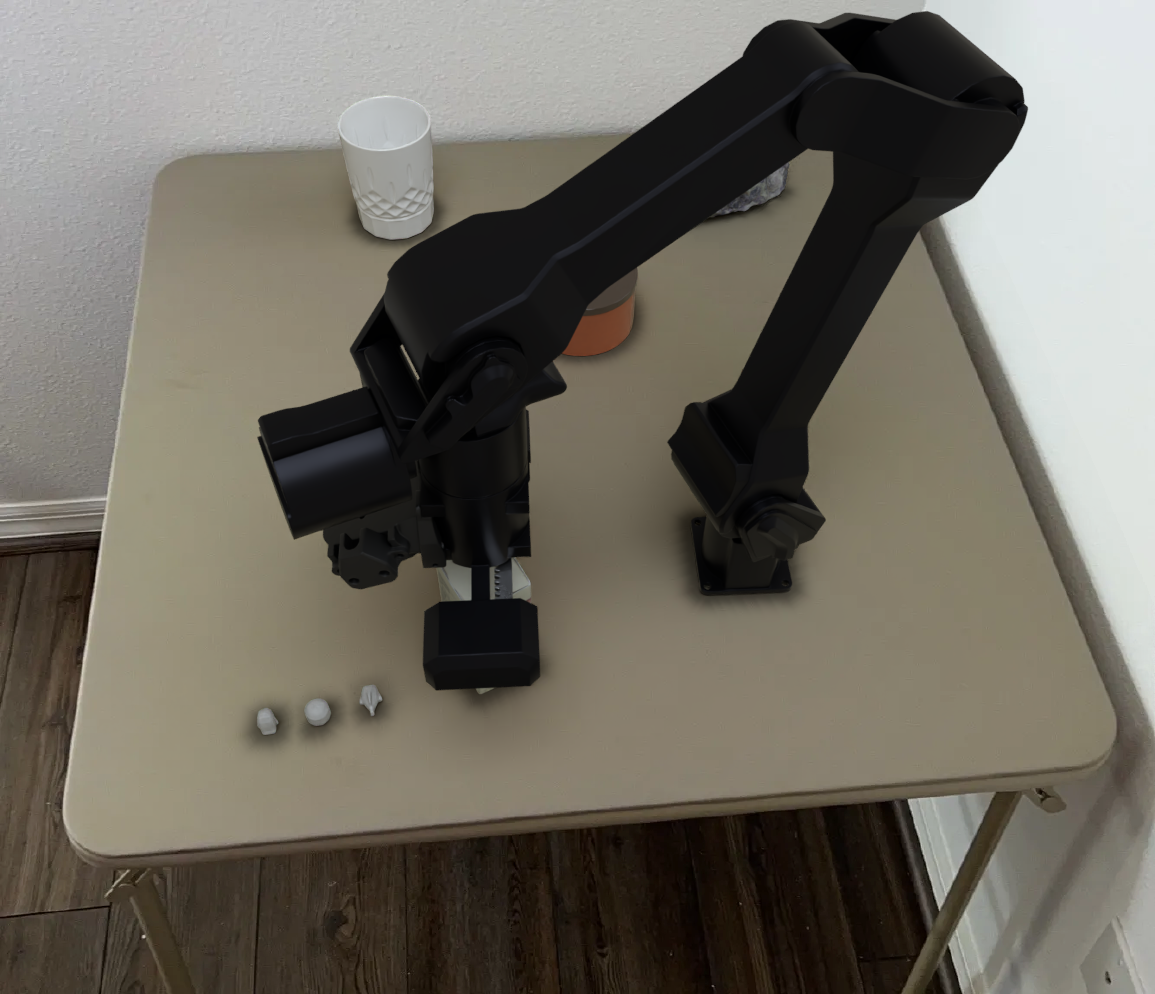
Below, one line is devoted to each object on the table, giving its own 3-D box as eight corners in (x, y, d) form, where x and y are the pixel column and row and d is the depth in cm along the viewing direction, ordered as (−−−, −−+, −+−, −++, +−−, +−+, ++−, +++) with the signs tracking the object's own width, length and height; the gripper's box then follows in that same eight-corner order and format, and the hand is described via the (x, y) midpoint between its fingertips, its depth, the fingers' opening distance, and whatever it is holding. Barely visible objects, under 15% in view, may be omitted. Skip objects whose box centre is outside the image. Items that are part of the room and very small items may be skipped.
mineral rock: (652, 231, 103) (660, 137, 95) (647, 159, 109) (654, 64, 101) (793, 233, 103) (813, 138, 95) (780, 160, 110) (798, 66, 102)
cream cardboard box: (537, 668, 76) (535, 587, 68) (478, 697, 74) (469, 618, 66) (501, 610, 78) (495, 525, 70) (444, 637, 77) (431, 554, 69)
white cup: (339, 234, 102) (321, 140, 94) (374, 182, 107) (359, 88, 99) (421, 252, 101) (409, 158, 93) (452, 199, 105) (444, 104, 97)
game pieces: (381, 688, 75) (377, 674, 73) (385, 717, 73) (381, 703, 72) (258, 711, 73) (251, 697, 72) (259, 740, 72) (253, 727, 71)
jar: (639, 355, 93) (643, 308, 89) (527, 359, 93) (526, 311, 89) (629, 280, 99) (632, 232, 95) (524, 283, 99) (523, 235, 94)
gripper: (332, 336, 65) (368, 499, 77) (304, 614, 54) (351, 753, 66) (526, 329, 65) (531, 493, 78) (538, 604, 54) (542, 744, 67)
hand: (488, 611), depth 72 cm, fingers open, 9 cm apart
